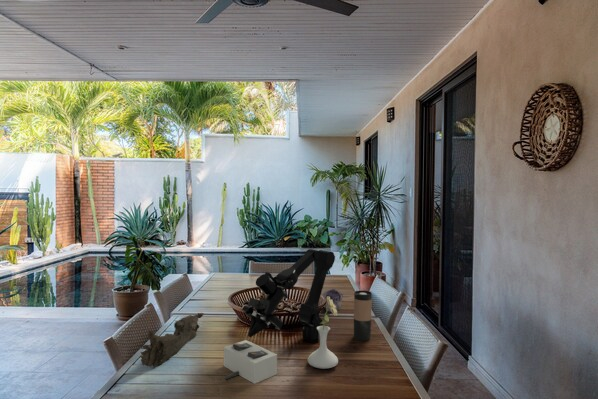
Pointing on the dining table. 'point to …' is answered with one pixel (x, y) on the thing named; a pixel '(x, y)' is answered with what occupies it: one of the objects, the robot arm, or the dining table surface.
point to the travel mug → (362, 315)
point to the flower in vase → (324, 344)
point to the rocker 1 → (241, 346)
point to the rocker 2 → (256, 354)
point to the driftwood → (169, 341)
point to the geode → (335, 297)
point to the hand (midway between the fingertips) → (249, 336)
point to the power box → (250, 362)
